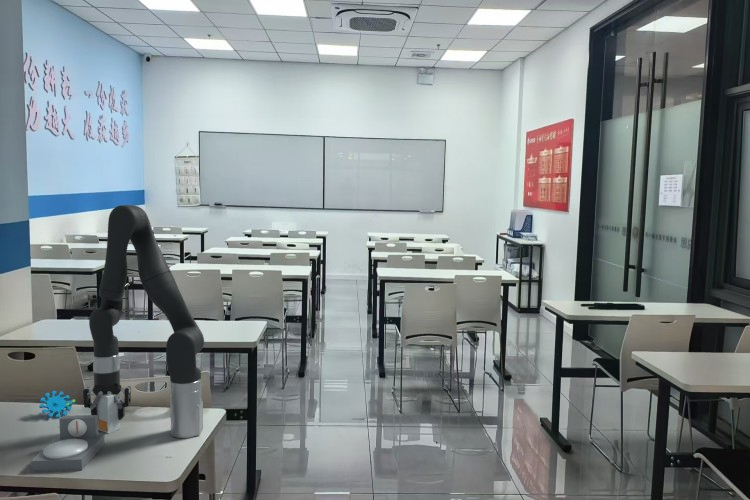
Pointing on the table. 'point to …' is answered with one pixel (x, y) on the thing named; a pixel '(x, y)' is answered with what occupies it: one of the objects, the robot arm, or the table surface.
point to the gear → (56, 404)
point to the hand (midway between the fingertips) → (108, 419)
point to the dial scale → (71, 445)
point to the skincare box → (108, 413)
